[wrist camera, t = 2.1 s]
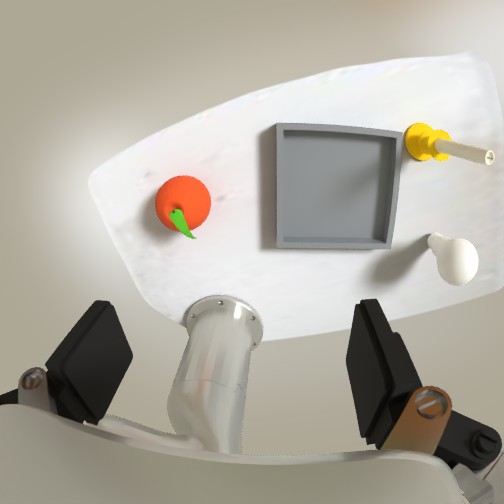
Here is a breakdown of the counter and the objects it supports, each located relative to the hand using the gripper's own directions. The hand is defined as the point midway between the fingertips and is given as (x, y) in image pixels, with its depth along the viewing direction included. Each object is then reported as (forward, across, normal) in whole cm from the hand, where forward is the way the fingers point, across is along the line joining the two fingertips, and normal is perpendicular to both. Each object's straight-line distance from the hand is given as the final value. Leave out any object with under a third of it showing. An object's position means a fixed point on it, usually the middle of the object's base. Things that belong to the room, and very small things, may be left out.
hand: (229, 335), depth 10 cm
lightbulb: (+29, -25, +8) cm, 39 cm away
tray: (+28, -10, +1) cm, 30 cm away
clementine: (+29, +10, +2) cm, 30 cm away
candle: (+29, -22, -6) cm, 36 cm away
